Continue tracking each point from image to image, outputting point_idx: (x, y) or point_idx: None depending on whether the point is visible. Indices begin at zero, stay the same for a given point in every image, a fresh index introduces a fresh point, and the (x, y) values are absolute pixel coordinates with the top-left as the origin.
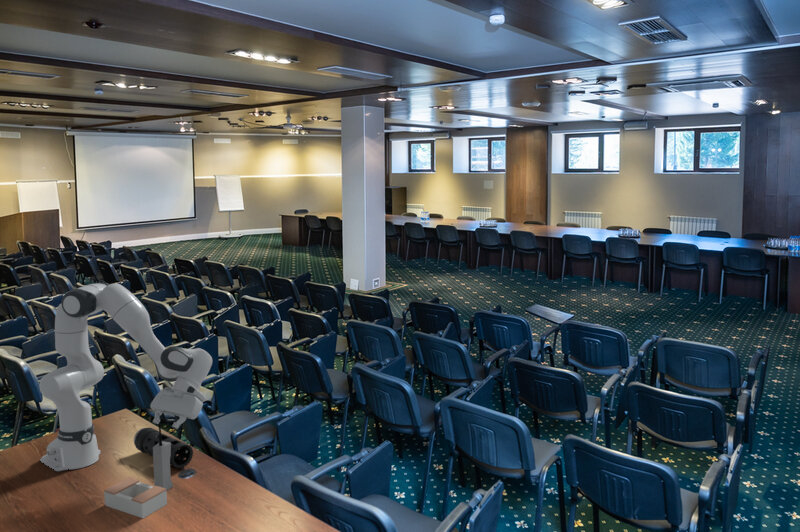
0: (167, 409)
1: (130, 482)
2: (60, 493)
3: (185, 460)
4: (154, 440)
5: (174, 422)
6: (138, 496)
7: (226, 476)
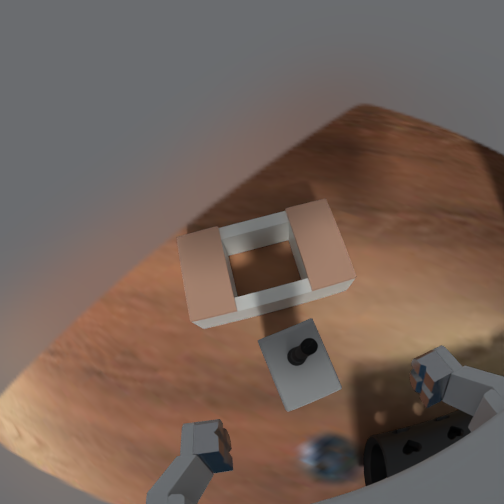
0: (401, 484)
1: (318, 265)
2: (435, 184)
3: (379, 477)
4: None
5: (212, 447)
6: (213, 244)
7: None
